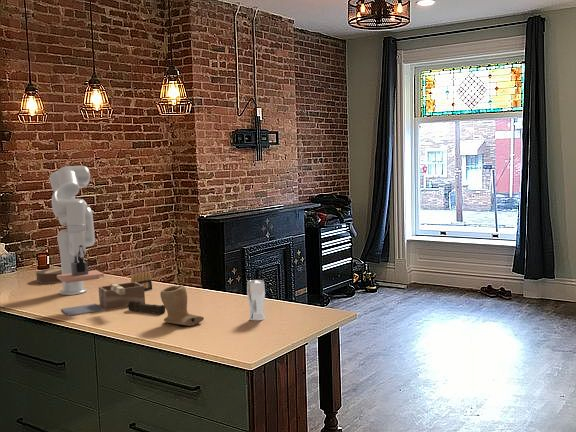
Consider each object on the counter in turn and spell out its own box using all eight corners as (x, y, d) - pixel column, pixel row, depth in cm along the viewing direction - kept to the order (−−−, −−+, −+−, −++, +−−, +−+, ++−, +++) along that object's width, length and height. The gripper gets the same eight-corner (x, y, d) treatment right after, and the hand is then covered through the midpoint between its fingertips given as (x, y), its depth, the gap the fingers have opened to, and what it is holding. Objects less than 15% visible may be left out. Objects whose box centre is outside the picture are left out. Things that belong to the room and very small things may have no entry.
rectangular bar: (110, 289, 270) (110, 283, 269) (115, 288, 271) (114, 283, 270) (120, 295, 258) (120, 289, 258) (125, 294, 259) (124, 288, 259)
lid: (57, 280, 273) (55, 263, 272) (96, 274, 282) (95, 258, 281) (63, 284, 263) (61, 267, 262) (103, 278, 272) (102, 262, 271)
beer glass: (259, 322, 244) (257, 283, 242) (244, 320, 247) (243, 282, 246) (269, 317, 250) (267, 280, 248) (255, 315, 253) (253, 279, 252)
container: (53, 276, 359) (52, 265, 358) (82, 277, 352) (82, 266, 352) (28, 283, 340) (27, 272, 340) (58, 285, 334) (58, 274, 333)
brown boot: (155, 324, 246) (153, 286, 244) (179, 317, 255) (177, 281, 254) (181, 330, 236) (179, 291, 235) (205, 323, 245) (203, 285, 244)
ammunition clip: (132, 293, 305) (130, 268, 304) (130, 292, 307) (129, 268, 305) (152, 289, 312) (151, 265, 311) (150, 289, 313) (149, 265, 312)
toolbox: (99, 304, 284) (98, 287, 283) (136, 298, 293) (135, 281, 292) (107, 309, 274) (105, 291, 273) (145, 303, 282) (144, 285, 282)
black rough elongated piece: (166, 313, 264) (165, 302, 263) (159, 315, 260) (159, 304, 260) (133, 309, 273) (132, 298, 273) (126, 311, 270) (125, 301, 270)
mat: (61, 309, 276) (61, 308, 276) (95, 304, 284) (95, 303, 284) (68, 316, 264) (68, 315, 264) (104, 310, 272) (104, 309, 272)
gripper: (63, 228, 276) (66, 269, 277) (72, 231, 261) (75, 274, 263) (80, 226, 279) (83, 267, 281) (90, 229, 265) (93, 272, 267)
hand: (79, 270), depth 272 cm, fingers closed on lid, 4 cm apart
